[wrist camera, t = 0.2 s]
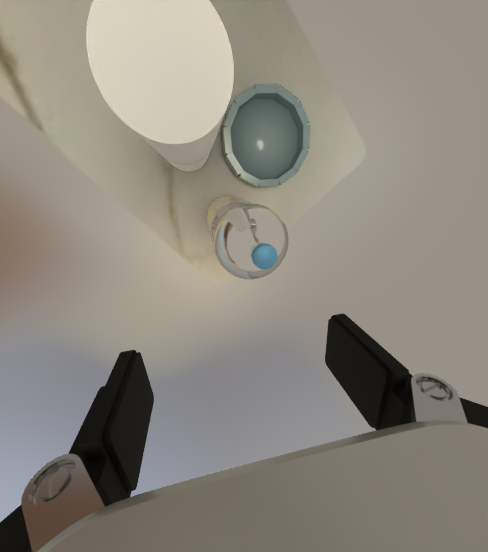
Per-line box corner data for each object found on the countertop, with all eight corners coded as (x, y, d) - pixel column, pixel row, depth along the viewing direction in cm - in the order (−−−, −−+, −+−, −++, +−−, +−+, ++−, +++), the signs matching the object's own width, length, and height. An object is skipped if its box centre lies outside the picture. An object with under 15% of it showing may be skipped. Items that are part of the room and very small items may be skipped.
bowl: (217, 92, 33) (219, 84, 30) (302, 92, 35) (311, 83, 32) (226, 189, 38) (228, 189, 35) (300, 183, 40) (307, 183, 37)
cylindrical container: (150, 139, 33) (50, 35, 11) (188, 106, 33) (166, -79, 10) (184, 181, 36) (163, 171, 13) (219, 151, 36) (259, 88, 13)
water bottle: (235, 242, 41) (282, 310, 18) (199, 226, 39) (203, 281, 16) (251, 207, 40) (326, 234, 17) (215, 188, 37) (245, 190, 15)
